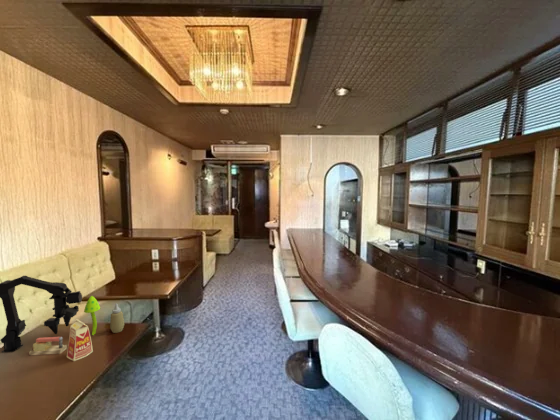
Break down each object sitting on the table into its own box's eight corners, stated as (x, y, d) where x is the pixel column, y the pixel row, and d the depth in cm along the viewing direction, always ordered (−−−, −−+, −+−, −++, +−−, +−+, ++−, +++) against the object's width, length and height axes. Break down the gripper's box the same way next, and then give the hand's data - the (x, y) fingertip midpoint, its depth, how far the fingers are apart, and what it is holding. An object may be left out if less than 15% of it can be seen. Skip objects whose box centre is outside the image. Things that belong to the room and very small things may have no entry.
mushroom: (81, 337, 162) (79, 298, 161) (92, 330, 170) (90, 293, 169) (95, 338, 162) (93, 298, 160) (104, 331, 170) (102, 293, 169)
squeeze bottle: (127, 328, 174) (126, 301, 173) (118, 334, 166) (117, 306, 165) (116, 327, 175) (115, 301, 174) (107, 333, 167) (105, 306, 166)
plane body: (28, 355, 145) (28, 344, 144) (36, 350, 150) (35, 339, 149) (60, 353, 146) (59, 342, 146) (67, 348, 151) (66, 337, 151)
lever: (36, 342, 146) (35, 339, 146) (38, 340, 148) (38, 337, 148) (60, 341, 147) (60, 338, 147) (63, 339, 149) (63, 336, 149)
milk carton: (66, 357, 143) (64, 321, 142) (85, 348, 151) (83, 314, 150) (75, 362, 139) (73, 325, 137) (94, 352, 147) (92, 317, 146)
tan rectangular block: (33, 351, 145) (33, 344, 145) (40, 346, 149) (39, 339, 149) (45, 350, 146) (44, 343, 145) (51, 346, 150) (51, 339, 150)
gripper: (63, 311, 149) (64, 337, 150) (84, 298, 168) (85, 321, 169) (42, 311, 148) (43, 338, 149) (66, 298, 167) (67, 322, 168)
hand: (61, 330), depth 159 cm, fingers open, 9 cm apart
